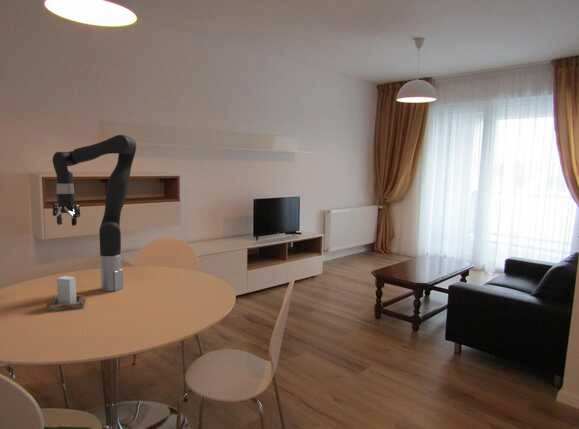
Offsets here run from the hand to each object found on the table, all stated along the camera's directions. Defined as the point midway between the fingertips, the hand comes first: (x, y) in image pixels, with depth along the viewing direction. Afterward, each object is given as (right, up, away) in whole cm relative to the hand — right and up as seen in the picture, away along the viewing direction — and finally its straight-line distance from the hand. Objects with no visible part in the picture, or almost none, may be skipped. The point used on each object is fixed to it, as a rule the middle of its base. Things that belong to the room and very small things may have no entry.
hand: (66, 225), depth 203 cm
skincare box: (+15, -34, -26) cm, 45 cm away
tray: (+15, -34, -27) cm, 46 cm away
